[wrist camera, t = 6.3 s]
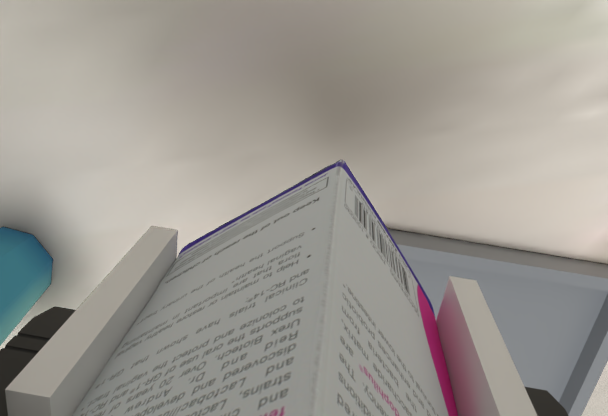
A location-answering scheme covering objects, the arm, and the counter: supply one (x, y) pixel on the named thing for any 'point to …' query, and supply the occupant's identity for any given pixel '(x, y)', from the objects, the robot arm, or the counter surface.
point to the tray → (528, 308)
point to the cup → (20, 276)
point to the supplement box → (284, 320)
